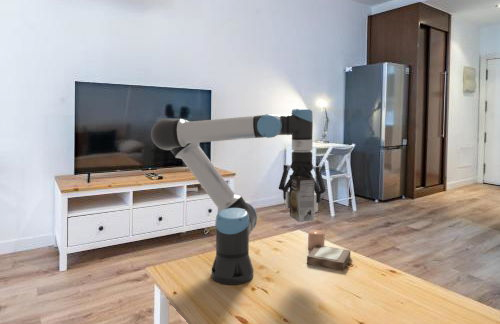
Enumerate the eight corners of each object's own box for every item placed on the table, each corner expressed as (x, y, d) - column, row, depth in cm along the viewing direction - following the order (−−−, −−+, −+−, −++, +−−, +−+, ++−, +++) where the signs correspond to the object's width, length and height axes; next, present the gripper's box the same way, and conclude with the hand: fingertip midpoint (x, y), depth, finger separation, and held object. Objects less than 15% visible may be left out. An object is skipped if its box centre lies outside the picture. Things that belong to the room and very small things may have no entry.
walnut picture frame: (306, 263, 139) (307, 255, 139) (316, 251, 152) (316, 244, 151) (343, 270, 133) (343, 262, 133) (350, 257, 146) (350, 249, 145)
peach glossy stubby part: (305, 249, 154) (306, 234, 153) (310, 244, 160) (310, 229, 160) (321, 252, 151) (322, 236, 150) (325, 246, 157) (326, 231, 157)
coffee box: (288, 216, 138) (288, 174, 136) (304, 214, 140) (304, 174, 138) (298, 222, 130) (298, 178, 128) (314, 220, 131) (315, 177, 130)
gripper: (269, 150, 134) (269, 208, 136) (330, 153, 123) (329, 215, 126) (277, 149, 140) (277, 204, 143) (335, 151, 130) (334, 210, 133)
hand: (301, 209), depth 134 cm, fingers closed on coffee box, 10 cm apart
